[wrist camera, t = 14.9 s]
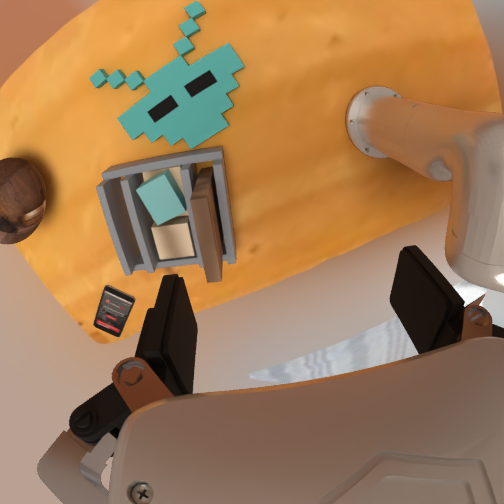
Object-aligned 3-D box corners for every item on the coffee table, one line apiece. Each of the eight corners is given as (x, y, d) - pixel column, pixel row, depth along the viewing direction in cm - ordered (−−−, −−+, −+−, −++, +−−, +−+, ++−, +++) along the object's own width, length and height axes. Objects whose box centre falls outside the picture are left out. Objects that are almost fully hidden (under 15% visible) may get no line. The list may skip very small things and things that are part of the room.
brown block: (213, 166, 45) (206, 197, 33) (223, 232, 51) (221, 281, 39) (201, 168, 45) (189, 200, 33) (212, 233, 51) (207, 282, 39)
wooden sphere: (-2, 189, 41) (-46, 222, 29) (24, 132, 37) (-29, 155, 24) (42, 233, 48) (4, 276, 35) (73, 181, 43) (27, 217, 31)
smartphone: (92, 325, 61) (105, 284, 55) (93, 323, 62) (106, 282, 56) (119, 338, 64) (135, 299, 57) (120, 335, 64) (136, 297, 58)
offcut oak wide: (184, 159, 44) (180, 166, 41) (191, 205, 48) (188, 214, 45) (149, 165, 44) (142, 172, 41) (158, 209, 48) (152, 219, 45)
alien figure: (94, 78, 35) (159, 169, 45) (89, 78, 33) (156, 173, 43) (198, 4, 31) (266, 102, 40) (197, 0, 29) (268, 103, 38)
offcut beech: (191, 210, 49) (187, 222, 44) (197, 240, 52) (194, 255, 47) (157, 214, 48) (151, 227, 44) (165, 244, 52) (160, 259, 47)
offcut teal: (168, 168, 41) (164, 174, 38) (188, 203, 44) (185, 211, 41) (141, 183, 41) (135, 190, 39) (161, 216, 45) (157, 225, 42)
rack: (222, 146, 43) (220, 155, 37) (236, 247, 53) (236, 269, 47) (110, 166, 43) (93, 179, 37) (137, 258, 53) (127, 281, 47)
